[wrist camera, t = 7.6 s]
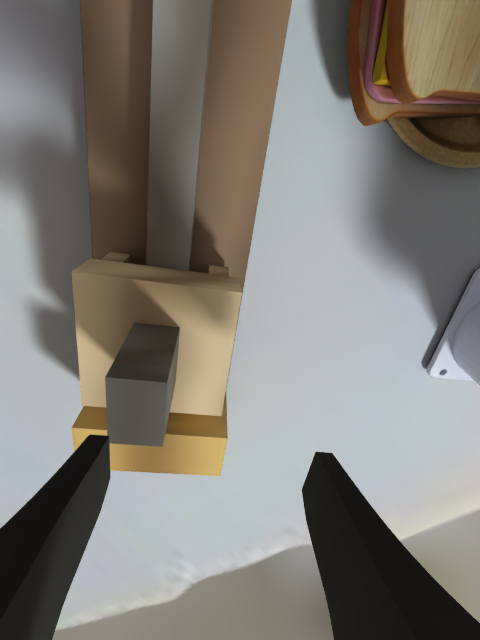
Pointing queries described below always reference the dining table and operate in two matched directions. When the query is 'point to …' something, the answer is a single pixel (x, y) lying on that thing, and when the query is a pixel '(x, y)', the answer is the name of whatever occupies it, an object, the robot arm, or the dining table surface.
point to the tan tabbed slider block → (152, 343)
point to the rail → (224, 126)
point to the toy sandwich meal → (419, 74)
